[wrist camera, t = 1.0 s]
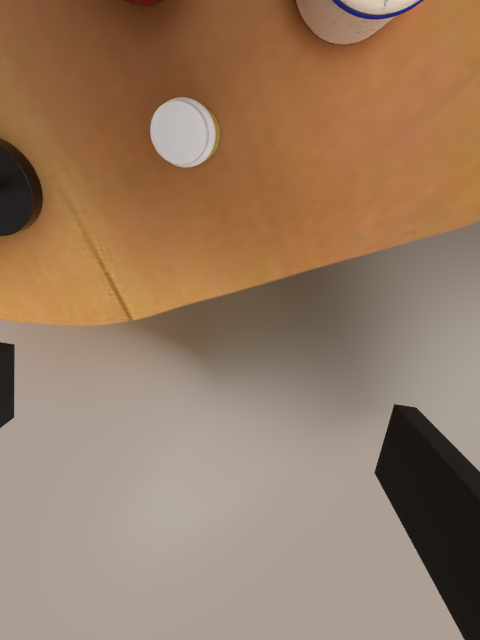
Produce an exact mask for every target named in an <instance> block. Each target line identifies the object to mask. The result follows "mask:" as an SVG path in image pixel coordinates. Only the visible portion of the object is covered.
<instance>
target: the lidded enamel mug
mask: <svg viewBox="0 0 480 640" xmlns="http://www.w3.org/2000/svg"><path fill="white" fill-rule="evenodd" d="M422 1H423V0H296V2H297V6H298V9H299V12H300V14H301V16H302V18H303V20H304V21H305V23H306V24H307V26H308V27H309V28H310V29H311V30H312V32H313V33H315V34H316V35H317V36H318V37H320V38H321V39H323V40H325V41H327V42H330V43H334V44H352V43H356V42H359V41H362V40H364V39H366V38H368V37H369V36H371V35H373V34H374V33H375V32H376V31H378V30H379V29H380V28H382V27H383V26H384V25H385V24H387V23H388V22H389V21H391V20H392V19H393V18H394V17H396V16H397V15H400V14H402V13H404V12H406V11H408V10H410V9H412V8H413V7H415V6H416V5H418V4H419V3H421V2H422Z"/></svg>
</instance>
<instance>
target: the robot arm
mask: <svg viewBox="0 0 480 640" xmlns="http://www.w3.org/2000/svg"><path fill="white" fill-rule="evenodd" d="M12 418H14V344H7V343H1V342H0V428H1V427H2V426H3V425H5V424H6V423H7V422H9V421H10V420H11V419H12ZM375 474H376V476H377V478H378V480H379V482H380V484H381V486H382V487H383V489H384V491H385V493H386V495H387V497H388V499H389V500H390V502H391V504H392V506H393V508H394V510H395V512H396V513H397V515H398V517H399V519H400V521H401V523H402V525H403V526H404V528H405V530H406V532H407V534H408V536H409V538H410V539H411V541H412V543H413V545H414V547H415V549H416V550H417V552H418V554H419V556H420V558H421V559H422V561H423V563H424V565H425V567H426V569H427V571H428V573H429V574H430V576H431V578H432V580H433V582H434V584H435V586H436V587H437V589H438V591H439V593H440V595H441V597H442V599H443V600H444V602H445V604H446V606H447V608H448V610H449V612H450V614H451V615H452V617H453V619H454V621H455V623H456V625H457V626H458V628H459V630H460V632H461V634H462V636H463V638H464V639H465V640H480V472H479V471H478V470H477V469H476V468H475V467H474V466H473V465H472V464H471V463H470V462H469V461H468V460H467V459H466V458H465V457H464V456H463V455H462V453H461V452H459V451H458V449H457V448H456V447H455V446H453V444H452V443H451V442H450V441H449V440H448V439H447V438H446V437H445V436H444V435H443V434H442V433H441V432H440V431H439V430H438V429H437V428H436V427H435V426H434V425H433V424H432V423H431V422H430V421H429V420H428V419H427V418H426V417H425V416H424V415H423V414H422V413H421V412H420V411H419V410H418V409H417V408H415V407H409V406H408V407H407V406H402V405H396V404H395V405H394V408H393V411H392V414H391V418H390V421H389V425H388V428H387V432H386V435H385V439H384V442H383V445H382V449H381V452H380V456H379V459H378V463H377V466H376V470H375Z"/></svg>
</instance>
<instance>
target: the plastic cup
mask: <svg viewBox="0 0 480 640" xmlns="http://www.w3.org/2000/svg"><path fill="white" fill-rule="evenodd" d="M125 1H129V2H131V3H133V4H141V5H151V4H153V3H156V2H158V1H160V0H125Z"/></svg>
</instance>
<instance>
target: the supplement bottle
mask: <svg viewBox="0 0 480 640" xmlns="http://www.w3.org/2000/svg"><path fill="white" fill-rule="evenodd" d="M150 134H151V140H152V143H153V145H154V147H155V149H156V151H157V152H158V153H159V154H160V156H161V157H163V158H164V159H165V160H167V161H168V162H170V163H171V164H173V165H176V166H178V167H184V168H188V167H194V166H196V165H199V164H201V163H202V162H204V161H206V160H207V159H209V158H210V157H212V155H213V154H214V153H215V152H216V150H217V148H218V146H219V143H220V137H221V132H220V126H219V123H218V120H217V118H216V116H215V115H214V114H213V112H212V111H211V110H210V109H208V108H207V107H206V106H204V105H203V104H201V103H200V102H198V101H196V100H194V99H191V98H187V97H177V98H174V99H171V100H169V101H167V102H166V103H164V104H162V105H161V106H160V107H159V108H158V109H157V110H156V111H155V113H154V115H153V117H152V120H151V125H150Z"/></svg>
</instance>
